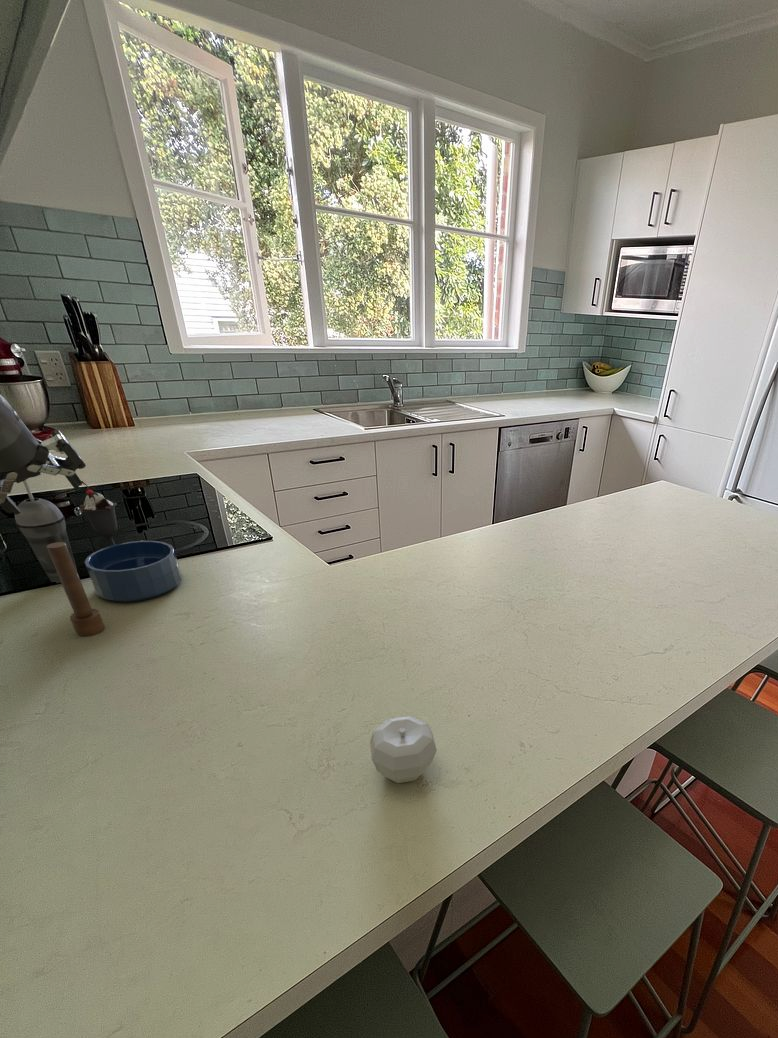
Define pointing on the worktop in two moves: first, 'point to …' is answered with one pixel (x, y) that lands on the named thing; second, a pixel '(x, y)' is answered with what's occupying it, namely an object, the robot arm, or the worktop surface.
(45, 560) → the beverage cup
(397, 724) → the apple
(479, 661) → the worktop surface
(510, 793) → the worktop surface
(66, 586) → the brown pestle
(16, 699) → the worktop surface
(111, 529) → the sundae
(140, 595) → the bowl
